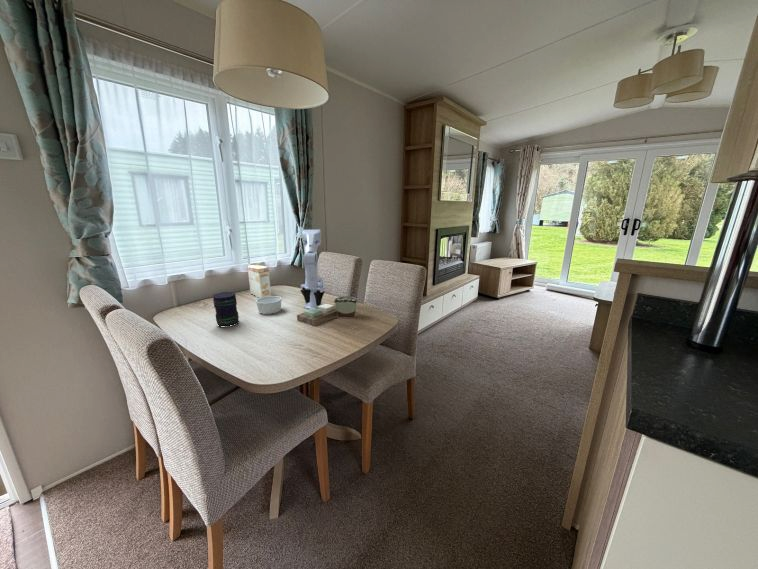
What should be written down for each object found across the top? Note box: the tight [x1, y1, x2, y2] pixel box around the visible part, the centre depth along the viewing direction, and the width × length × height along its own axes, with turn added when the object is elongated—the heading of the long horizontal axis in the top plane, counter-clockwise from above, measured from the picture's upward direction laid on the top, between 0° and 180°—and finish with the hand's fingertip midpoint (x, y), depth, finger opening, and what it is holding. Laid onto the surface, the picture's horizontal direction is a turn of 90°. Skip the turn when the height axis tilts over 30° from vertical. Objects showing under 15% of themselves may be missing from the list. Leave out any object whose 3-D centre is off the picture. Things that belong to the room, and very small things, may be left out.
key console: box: [296, 306, 337, 327], centre depth 152 cm, size 12×20×3 cm, turn 145°
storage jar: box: [212, 291, 240, 326], centre depth 142 cm, size 10×10×15 cm
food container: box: [333, 295, 358, 319], centre depth 153 cm, size 12×6×10 cm, turn 84°
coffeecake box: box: [247, 264, 272, 299], centre depth 188 cm, size 15×7×20 cm, turn 48°
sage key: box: [304, 308, 322, 318], centre depth 148 cm, size 6×6×2 cm
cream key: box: [318, 303, 335, 312], centre depth 155 cm, size 6×6×2 cm
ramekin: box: [255, 295, 283, 315], centre depth 161 cm, size 13×13×7 cm
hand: (313, 304), depth 146 cm, fingers open, 7 cm apart
